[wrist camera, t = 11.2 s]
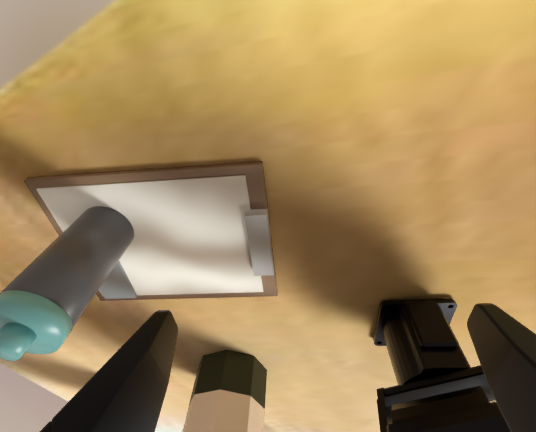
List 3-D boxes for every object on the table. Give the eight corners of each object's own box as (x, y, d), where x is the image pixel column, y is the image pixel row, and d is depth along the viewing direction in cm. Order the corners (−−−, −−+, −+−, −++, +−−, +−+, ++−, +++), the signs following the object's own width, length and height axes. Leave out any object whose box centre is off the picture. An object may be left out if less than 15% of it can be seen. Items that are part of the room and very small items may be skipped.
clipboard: (277, 292, 27) (277, 303, 26) (102, 297, 29) (96, 307, 28) (262, 161, 20) (261, 169, 19) (27, 177, 21) (15, 185, 20)
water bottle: (142, 246, 24) (62, 373, 15) (94, 249, 24) (-9, 373, 16) (123, 204, 22) (17, 325, 13) (71, 207, 22) (-64, 326, 14)
